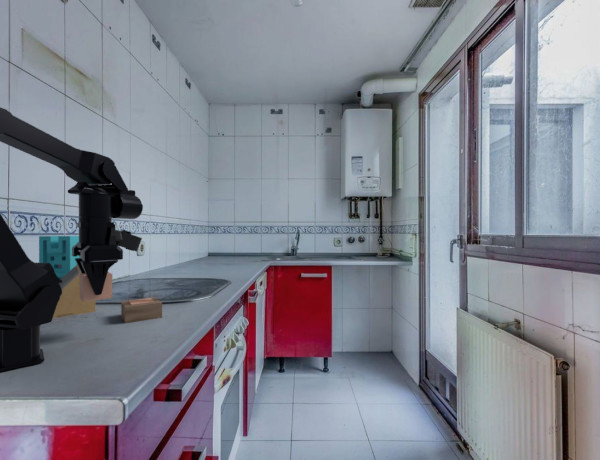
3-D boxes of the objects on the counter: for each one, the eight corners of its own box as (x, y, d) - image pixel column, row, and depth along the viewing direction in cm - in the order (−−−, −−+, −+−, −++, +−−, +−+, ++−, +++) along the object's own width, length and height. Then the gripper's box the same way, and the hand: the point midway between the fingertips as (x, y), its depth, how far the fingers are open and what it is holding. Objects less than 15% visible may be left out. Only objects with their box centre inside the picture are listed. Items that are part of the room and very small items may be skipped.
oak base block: (162, 318, 77) (162, 301, 77) (125, 324, 73) (125, 306, 73) (155, 312, 84) (155, 296, 84) (121, 316, 79) (121, 300, 79)
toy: (39, 305, 90) (39, 236, 90) (56, 301, 96) (56, 236, 96) (70, 306, 89) (70, 236, 89) (85, 301, 95) (85, 235, 95)
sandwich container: (16, 317, 79) (16, 257, 79) (88, 306, 89) (88, 254, 90) (18, 324, 73) (18, 259, 73) (95, 312, 83) (95, 255, 83)
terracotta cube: (112, 298, 65) (112, 273, 65) (83, 301, 62) (83, 276, 62) (107, 294, 69) (107, 271, 69) (79, 297, 65) (79, 273, 65)
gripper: (150, 217, 64) (151, 294, 64) (126, 219, 77) (127, 282, 77) (84, 215, 56) (85, 302, 56) (71, 218, 70) (71, 288, 70)
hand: (95, 292), depth 65 cm, fingers closed on terracotta cube, 5 cm apart
